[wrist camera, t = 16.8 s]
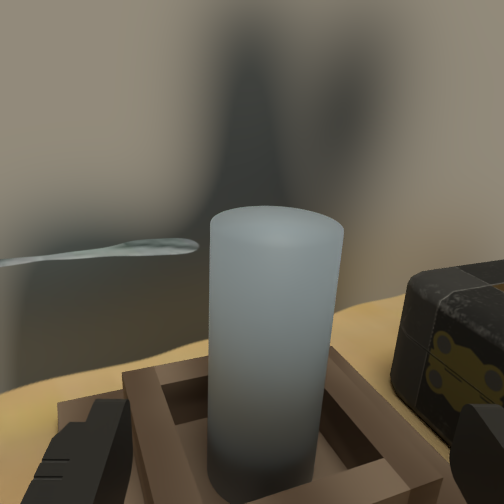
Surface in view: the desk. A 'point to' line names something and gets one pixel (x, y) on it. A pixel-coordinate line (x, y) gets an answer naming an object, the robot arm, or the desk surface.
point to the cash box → (451, 343)
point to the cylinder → (268, 346)
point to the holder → (327, 453)
